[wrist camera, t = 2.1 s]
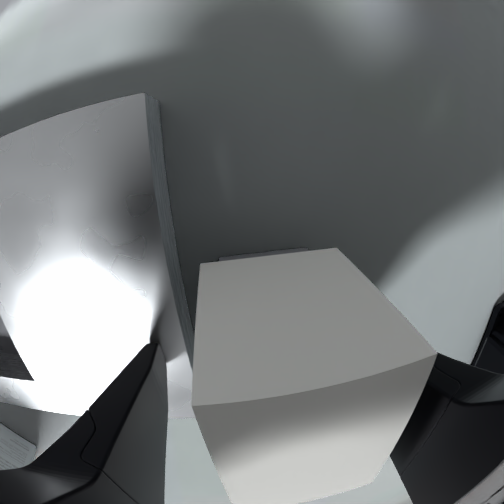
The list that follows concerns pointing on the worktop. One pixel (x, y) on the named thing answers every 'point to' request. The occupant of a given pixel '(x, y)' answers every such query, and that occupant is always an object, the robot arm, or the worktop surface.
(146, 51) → the worktop surface
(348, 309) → the plug
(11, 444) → the skincare box
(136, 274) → the socket plate
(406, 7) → the worktop surface
